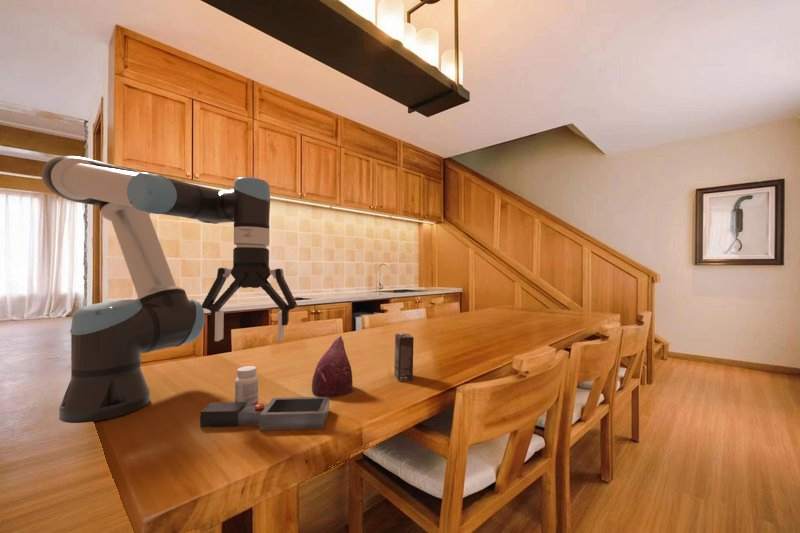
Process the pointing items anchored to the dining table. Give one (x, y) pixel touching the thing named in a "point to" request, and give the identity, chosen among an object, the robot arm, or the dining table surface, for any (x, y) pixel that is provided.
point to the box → (403, 357)
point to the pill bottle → (246, 385)
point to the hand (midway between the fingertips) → (250, 339)
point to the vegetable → (333, 372)
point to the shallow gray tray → (269, 414)
